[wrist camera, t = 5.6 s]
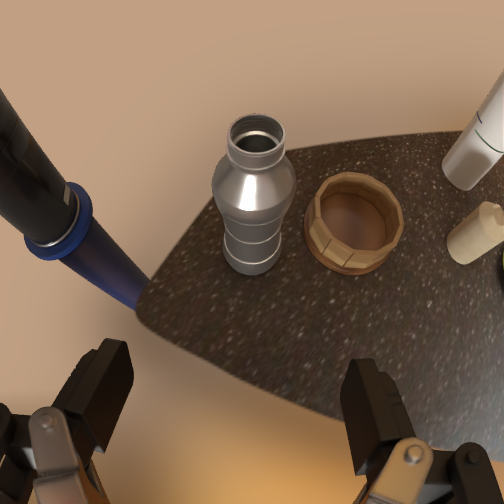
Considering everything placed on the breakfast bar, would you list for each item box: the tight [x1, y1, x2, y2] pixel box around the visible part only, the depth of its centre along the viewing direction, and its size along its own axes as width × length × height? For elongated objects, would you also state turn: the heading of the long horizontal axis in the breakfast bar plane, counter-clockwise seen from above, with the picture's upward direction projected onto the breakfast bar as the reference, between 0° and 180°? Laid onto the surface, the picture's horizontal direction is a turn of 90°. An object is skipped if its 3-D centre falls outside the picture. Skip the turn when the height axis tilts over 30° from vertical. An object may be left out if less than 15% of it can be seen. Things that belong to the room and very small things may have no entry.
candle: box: [447, 202, 504, 264], centre depth 33 cm, size 6×6×10 cm
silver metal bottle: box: [212, 113, 297, 275], centre depth 27 cm, size 6×7×20 cm
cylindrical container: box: [442, 70, 504, 191], centre depth 31 cm, size 7×7×25 cm
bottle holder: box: [303, 172, 404, 275], centre depth 36 cm, size 12×12×5 cm
